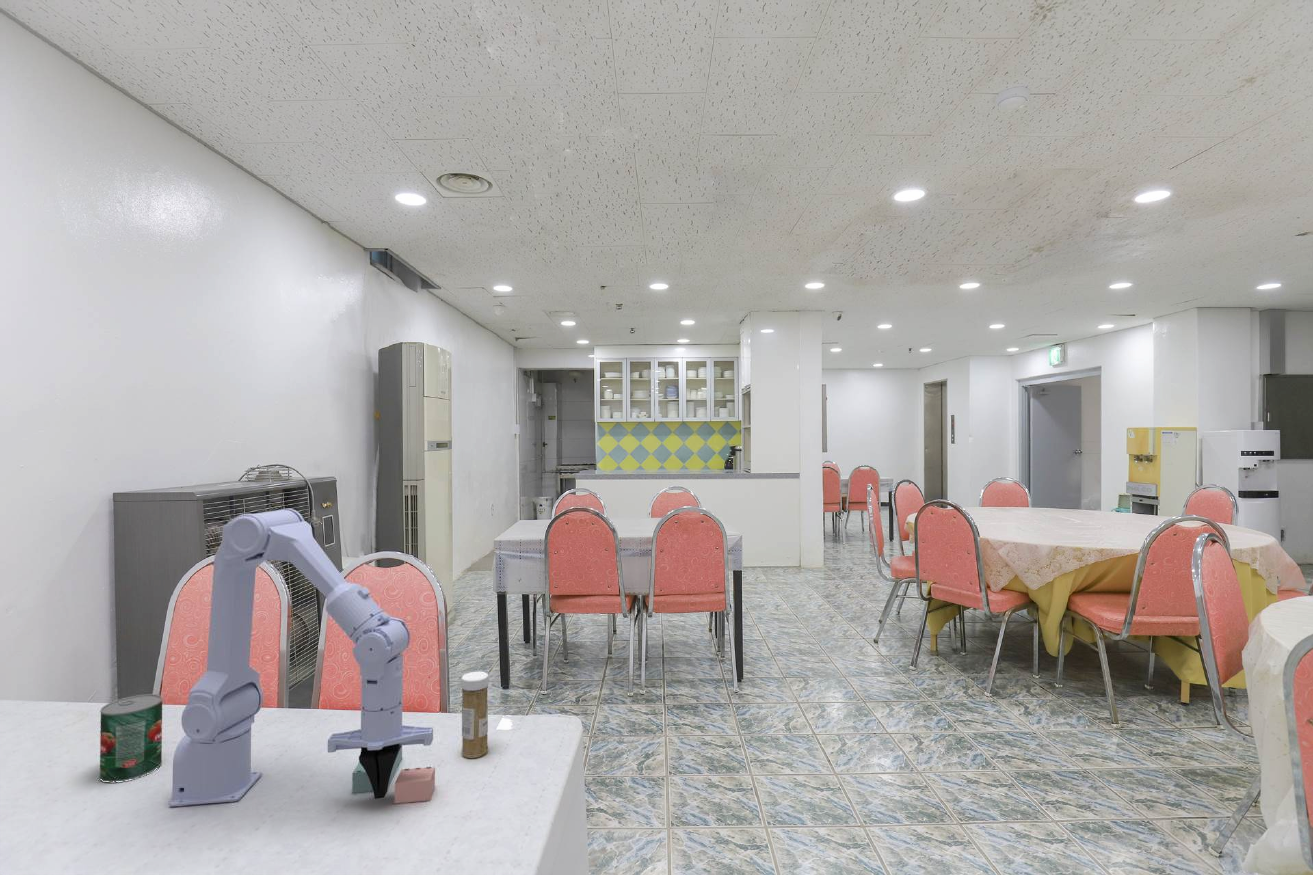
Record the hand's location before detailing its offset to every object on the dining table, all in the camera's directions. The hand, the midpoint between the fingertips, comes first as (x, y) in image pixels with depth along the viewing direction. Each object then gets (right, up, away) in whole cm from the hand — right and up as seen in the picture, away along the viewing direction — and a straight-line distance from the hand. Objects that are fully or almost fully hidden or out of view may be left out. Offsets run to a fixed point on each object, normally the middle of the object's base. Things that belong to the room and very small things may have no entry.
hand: (381, 794), depth 94 cm
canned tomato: (-45, -1, +9) cm, 46 cm away
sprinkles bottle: (+10, -1, +15) cm, 18 cm away
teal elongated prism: (-4, -1, +8) cm, 9 cm away
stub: (+5, -1, +2) cm, 5 cm away
